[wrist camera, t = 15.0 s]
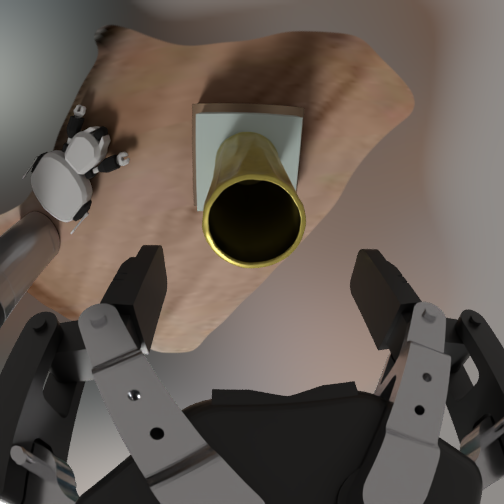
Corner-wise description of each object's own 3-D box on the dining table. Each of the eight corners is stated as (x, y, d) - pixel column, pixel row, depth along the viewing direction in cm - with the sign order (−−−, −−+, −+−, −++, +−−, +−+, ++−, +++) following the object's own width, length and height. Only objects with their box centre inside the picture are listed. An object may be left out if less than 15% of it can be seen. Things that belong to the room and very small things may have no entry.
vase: (241, 118, 24) (244, 138, 11) (291, 157, 26) (339, 216, 14) (203, 168, 26) (170, 236, 14) (252, 202, 28) (262, 293, 16)
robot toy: (88, 98, 28) (33, 174, 31) (72, 98, 24) (17, 182, 27) (141, 157, 33) (80, 226, 37) (131, 163, 29) (67, 239, 33)
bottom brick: (198, 194, 36) (193, 205, 32) (197, 103, 29) (192, 103, 26) (289, 196, 36) (294, 207, 33) (297, 106, 30) (304, 107, 27)
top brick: (201, 197, 32) (197, 210, 28) (201, 112, 27) (195, 114, 23) (287, 199, 32) (293, 213, 29) (294, 115, 27) (302, 117, 24)
